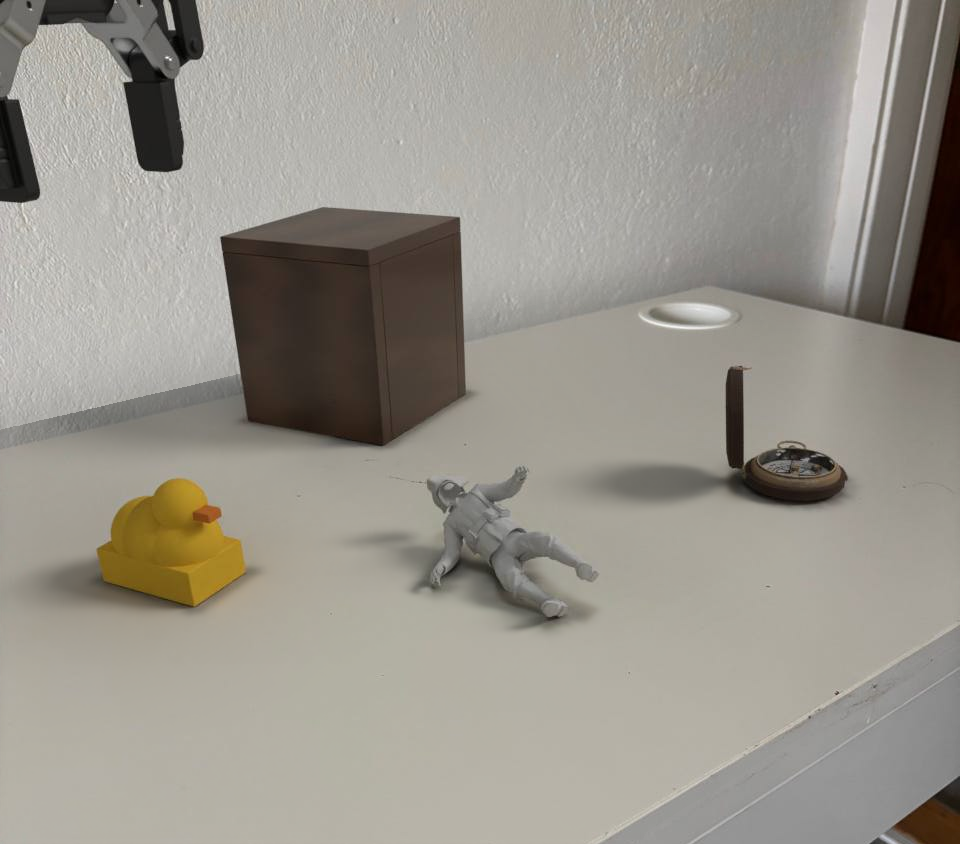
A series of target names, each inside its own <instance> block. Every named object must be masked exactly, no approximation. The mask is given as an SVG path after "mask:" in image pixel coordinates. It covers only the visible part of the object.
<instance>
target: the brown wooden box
mask: <svg viewBox="0 0 960 844" xmlns="http://www.w3.org/2000/svg"><path fill="white" fill-rule="evenodd" d="M219 240H220V246H221V252H222V259H223V267H224V272H225V279H226V286H227V292H228V293H227V294H228V298H229V299H228V300H229V306H230V312H231V313H230V314H231V318H232V319H231V320H232V326H233V332H234V339H235V345H236V346H235V347H236V352H237V359H238V366H239V372H240V379H241V386H242V391H243V392H242V393H243V398H244V404H245V412H246V418H247V421H248V422H253V423H258V424H264V425H270V426H275V427H280V428H287V429H292V430H297V431H302V432H308V433H313V434H319V435H324V436H329V437H335V438H340V439H346V440H352V441H356V442H357V441H358V442H361V443H362V442H363V443H369V444H374V445H379V446H385V445H386V444H388V443H390V442H391V441H393V440H395V439H396V438H397V437H399V436H401V435H403V434H404V433H406V432H407V431H409V430H411V429H412V428H413V427H415V426H417V425H418V424H420V423H422V422H423V421H424V420H427V419H428V418H430V417H431V416H433V415H435V414H436V413H437V412H439V411H441V410H442V409H443V408H445V407H447V406H449V405H450V404H451V403H453V402H455V401H457V400H458V399H459V398H462V397H464V396H465V395H466V394H467V386H466V354H465V353H466V352H465V350H466V349H465V324H464V323H465V321H464V290H463V288H464V287H463V262H462V232H461V217H460V216H453V215H439V214H423V213H412V212H411V213H410V212H399V211H398V212H396V211H384V210H368V209H355V208H344V207H329V206H322V207H318V208H315V209H312V210H308V211H304V212H301V213H297V214H293V215H291V216H287V217H284V218H279V219H276V220H273V221H270V222H266V223H263V224H260V225H256V226H253V227H248V228H245V229H241V230H239V231H235V232H231V233H228V234H224V235H221V236H220V237H219Z"/></svg>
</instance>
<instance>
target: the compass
mask: <svg viewBox="0 0 960 844" xmlns="http://www.w3.org/2000/svg"><path fill="white" fill-rule="evenodd" d="M752 368H753V367H752V366H750V367H743V365H734V366H730V367H729V368H728V370H727V373H726V379H725V450H726V451H725V453H726V458H727V463H728V464H727V465H728V467H730V469H732V470H733V469H736V470H737V469H738V470H740V473H742V477H743V479H744V482H745V483H746V484H747V485H748V487H750V488H751V489H753V490H754V491H756V492H758V493H760V494H762V495H765V496H768V497H770V498H771V497H772V498H775V499H780V500H786V501H799V502H806V501H807V502H808V501H818V500H823V499H828V498H831V497H833V496H835V495H837V494H838V493H840V492H841V491H842V490H843V489H844V488H845V486H846V485H845V484H846V482H848V480H849V475H848V474H847V472H846V470H845V469H844V467H842V466H841V465H839V463H838V462H836V461H835V460H834V458H832V457H831V456H829V455H827V454H826V453H823V452H821V451H818V450H814V449H809V448H807V446H806V444H805V443H803V442H801V441H797V440H782V441H780V442H778V443H777V446H776V447H777V448H772V449H768V450H765V451H763V452H761V453H759V454H758V455H756V456H754V457H752V458H751V459H749V460H748V461H747V462H746V463H745V425H744V424H745V423H744V422H745V421H744V420H745V414H744V411H745V410H744V409H745V406H744V405H745V403H744V401H745V399H744V371H748V370H751V369H752ZM784 444H791V445H789V446H788V447H781V445H784ZM794 444H797V445H800V446H802V447H803V448H801V447H796V445H794Z"/></svg>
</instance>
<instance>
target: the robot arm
mask: <svg viewBox="0 0 960 844" xmlns="http://www.w3.org/2000/svg"><path fill="white" fill-rule="evenodd" d="M167 1H168V3H169V5H170V10H171V16H172V20H173V25H174V29H169V24H168V19H167V13H166V9H165V3H164V0H0V202H3V203H15V204H24V203H30V202H33V201H37V200H39V199H40V196H41V188H40V184H39V183H40V182H39V179H38V175H37V171H36V165H35V162H34V158H33V153H32V149H31V145H30V140H29V136H28V132H27V128H26V123H25V118H24V114H23V111H22V105H21V102H20V99H19V98H13V99H12V98H9V97H8V96H9V94H10V93H11V90H12V87H13V84H14V80H15V78H16V73H17V70H18V66H19V63H20V59H21V57H22V53H23V51H24V49H25V48H26V47H27V46H29V45H30V44H32V43H33V41H34V40H35V38H36V36H37V33H38V28H39V27H40V26H54V25H55V26H56V25H65V24H81V26H82V27H83V28H84V30H85V31H86V32H87V33H88V34H89V35H90V36H91V37H93V38H95V39H97V40H99V41H100V42H101V43H103V44H104V46H105V48H106V50H108V52H109V54H110V55H111V56H112V57H113V59H114V60H115V62H116V63H117V65H118V66H119V67H120V69H121V70H122V71H123V74H124V75H125V76H127V77H128V78H129V79H131V81H123V82H122V84H123V90H124V94H125V100H126V105H127V111H128V116H129V117H128V118H129V121H130V127H131V132H132V138H133V143H134V148H135V149H134V150H135V154H136V159H137V163H138V166H139V167H140V168H141V169H142V171H145V172H153V173H156V172H157V173H170V172H176V171H180V170H181V169H182V167H183V165H184V158H183V156H184V148H185V140H184V133H183V130H182V127H183V126H182V121H181V115H180V109H179V102H178V96H177V90H176V78H177V77H178V76H179V74H180V70H181V68H182V67H183V66H185V65H186V64H187V63H188V62H189V61H199V60H200V59H202V57H203V56H204V52H205V51H204V50H205V45H204V38H203V33H202V27H201V23H200V16H199V11H198V7H197V5H198V4H197V0H167Z"/></svg>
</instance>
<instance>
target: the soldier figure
mask: <svg viewBox="0 0 960 844" xmlns="http://www.w3.org/2000/svg"><path fill="white" fill-rule="evenodd" d="M527 473H531V469H530V468H529V466H526V465H520V466H518V467H516V468H515V469H514V474H512V476H511V477H509V478H508V479H507V480H504V481H501V482H491V483H476V484H475V485H474V486H473V487H472V488H471V489H469V491H468V492H466V490H465V488H464V487H466V485H467V484H468V483H469V479H467V478H465V477H464V478H463V477H460V476H457V475H454V474H445V475H441V474H439V473H436V474H435V473H434V474H432V475H431V476H429V477H427V479H426V488H427V490H428V491H429V492H430V493H431V497H432V501H433V503H434V505H435V506H436V507H437V508H439V509H440V510H441V512H442V514H443V515H445V514H447V512H448V514H447V516H446V518H445V520H444V521H443V523H442V526H443V543H444V549H443V555H442V557H441V559H440V560H439V561H438V562H437V563H436V564H435V566H434V567H433V569H432V570H431V572H430V575H429V577H430V578H429V582H430V583H431V585H434V582H435V583H436V584H437V585H438V586H441V577H442V576H445V575H446V574H447V573H448V572H449V571H451V570H453V568H454V567H455V566H456V565H457V563H458V561H459V559H460V558H461V553H462V548H463V545H464V543H465V545H466V546H467V548H468V549H469V550H470V551H471V552H472V553H473V555H476V554H478V555H479V556H480V557H482V558H483V559H484V561H485V562H486V563H487V565H488V566H489V567H490V568H492V569H493V570H494V573H495V576H496V578H497V579H498V580H499V582H500V584H501V586H502V588H503V589H504V590H505V591H507V592H509V593H511V594H512V596H513V597H514V599H515V598H516V599H517V598H523V599H527V600H529V601H532V602H534V603H537V604H540V609H541V611H542V614H544V616H545V617H547V618H552V617H555V616H556V617H559V618H560V617H563V616H565V615H566V614H567V613H568V611H569V608H570V607H569V606H568V605H567V603H566V602H563V601H561V599H559V598H557V597H556V596H554V595H552V594H549V593H547V592H546V591H544V590H543V589H541V587H540V586H539V585H537V584H536V583H535V582H533V581H532V580H530V579H529V577H528V576H527V574H525V571H524V570H525V564H526V562H528V561H531V560H534V559H537V558H548V559H550V560H552V561H556V562H558V563H560V564H562V565H565V566H566V567H567V566H568V567H570V568H573V569H574V571H575V574H576V577H577V578H578V579H580V580H582V581H587V582H589V583H594V582H595V581H596V580H597V579H598V577H599V576H600V573H599V572H598V571H597V570H596V569H595V567H593V566H592V564H590V563H589V562H587V561H585V560H584V559H582V557H581V556H580V555H578V554H577V553H575V551H573V550H572V549H571V548H570V547H569V546H568V545H567V544H565V543H564V542H563V541H562V540H560V539H559V538H558V536H557V535H556V534H554V533H550V532H547V531H541V530H533V531H532V530H531V531H526V530H525V528H524V527H522V526H521V525H518V524H517V523H516V522H514V521H513V520H512V519H511V518H510V517H511V511H510V510H509V509H507V508H506V507H505V506H503V505H502V504H501V502H502V501H504V500H506V499H512V498H513V497H515V496H516V495H517V494H518V493H519V492H520V491H521V489H522V487H523V485H524V483H525V482H526V480H527V479H528V474H527Z"/></svg>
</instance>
